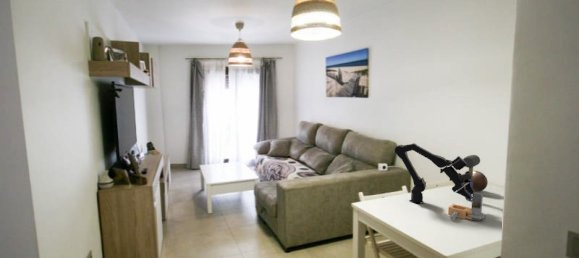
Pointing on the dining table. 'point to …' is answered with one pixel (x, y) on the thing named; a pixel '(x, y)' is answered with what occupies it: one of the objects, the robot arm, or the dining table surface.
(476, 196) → the dark grey long block
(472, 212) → the bracket head
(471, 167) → the rubber mallet
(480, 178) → the wooden sphere
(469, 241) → the dining table surface
